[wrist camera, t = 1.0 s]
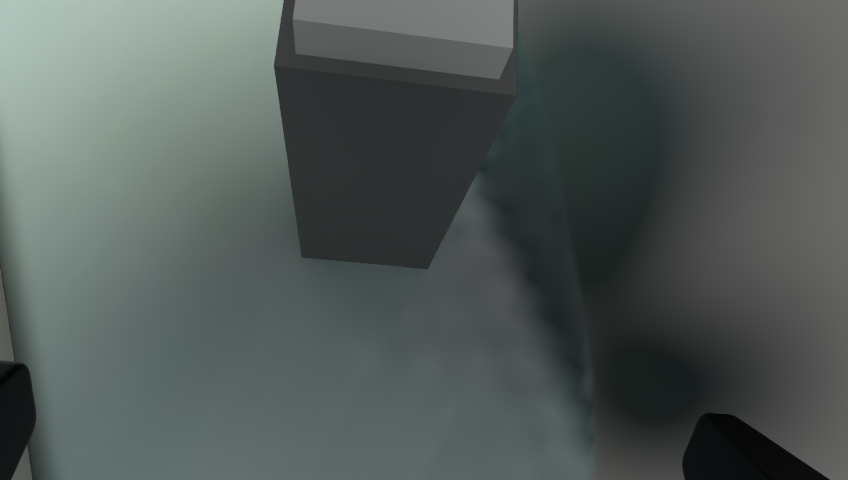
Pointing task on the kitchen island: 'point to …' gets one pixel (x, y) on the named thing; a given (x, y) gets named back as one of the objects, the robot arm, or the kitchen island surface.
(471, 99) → the iec plug
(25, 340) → the kitchen island surface
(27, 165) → the kitchen island surface
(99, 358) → the kitchen island surface
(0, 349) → the beige divided rectangular frame
